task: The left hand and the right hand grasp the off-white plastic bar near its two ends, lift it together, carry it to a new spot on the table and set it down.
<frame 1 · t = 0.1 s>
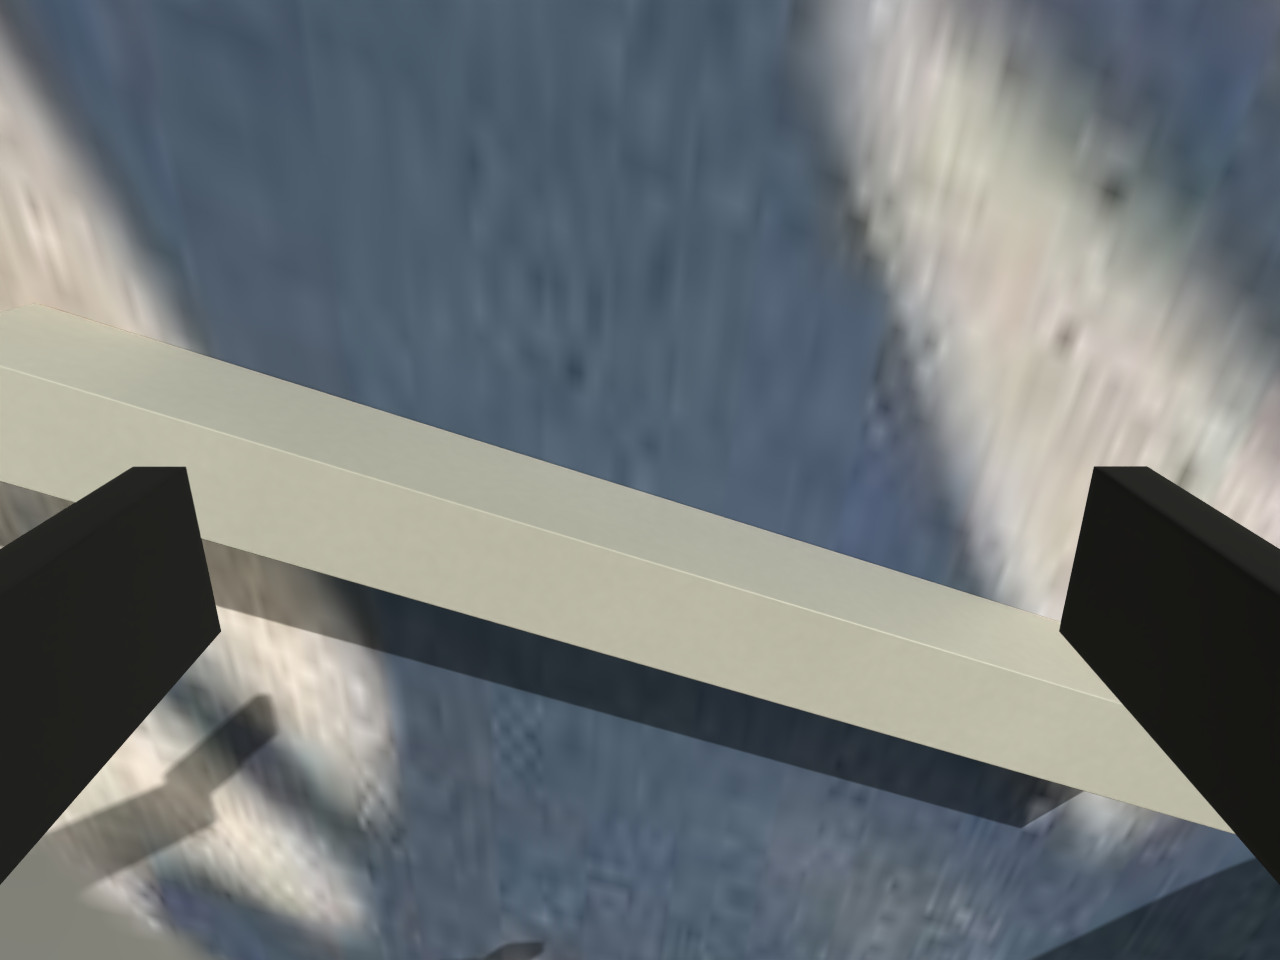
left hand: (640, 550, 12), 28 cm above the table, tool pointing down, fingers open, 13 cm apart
bar: (663, 545, 43), on the table
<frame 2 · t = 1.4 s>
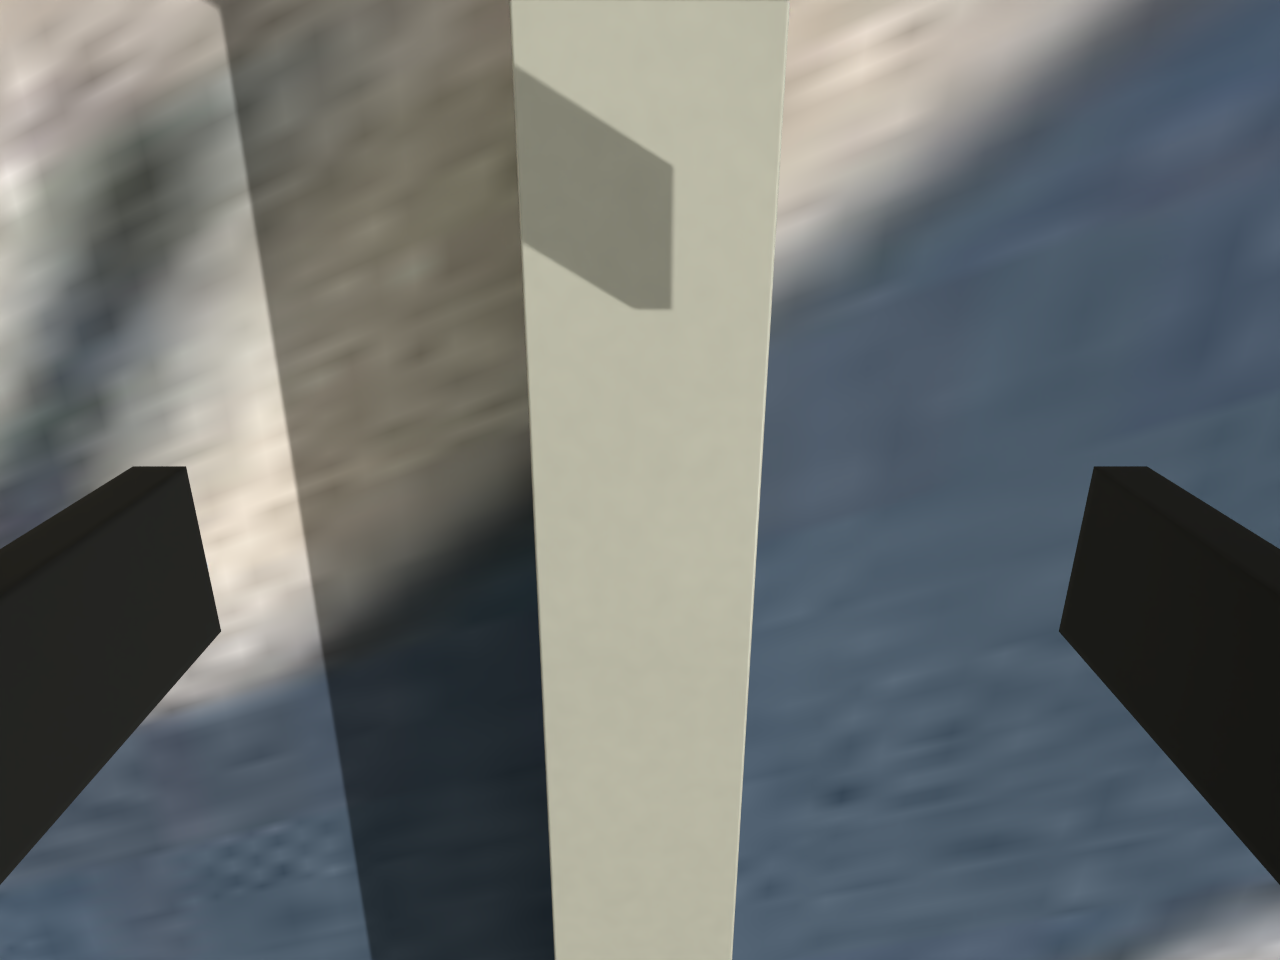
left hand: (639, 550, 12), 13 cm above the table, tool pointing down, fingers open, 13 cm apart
bar: (642, 934, 33), on the table
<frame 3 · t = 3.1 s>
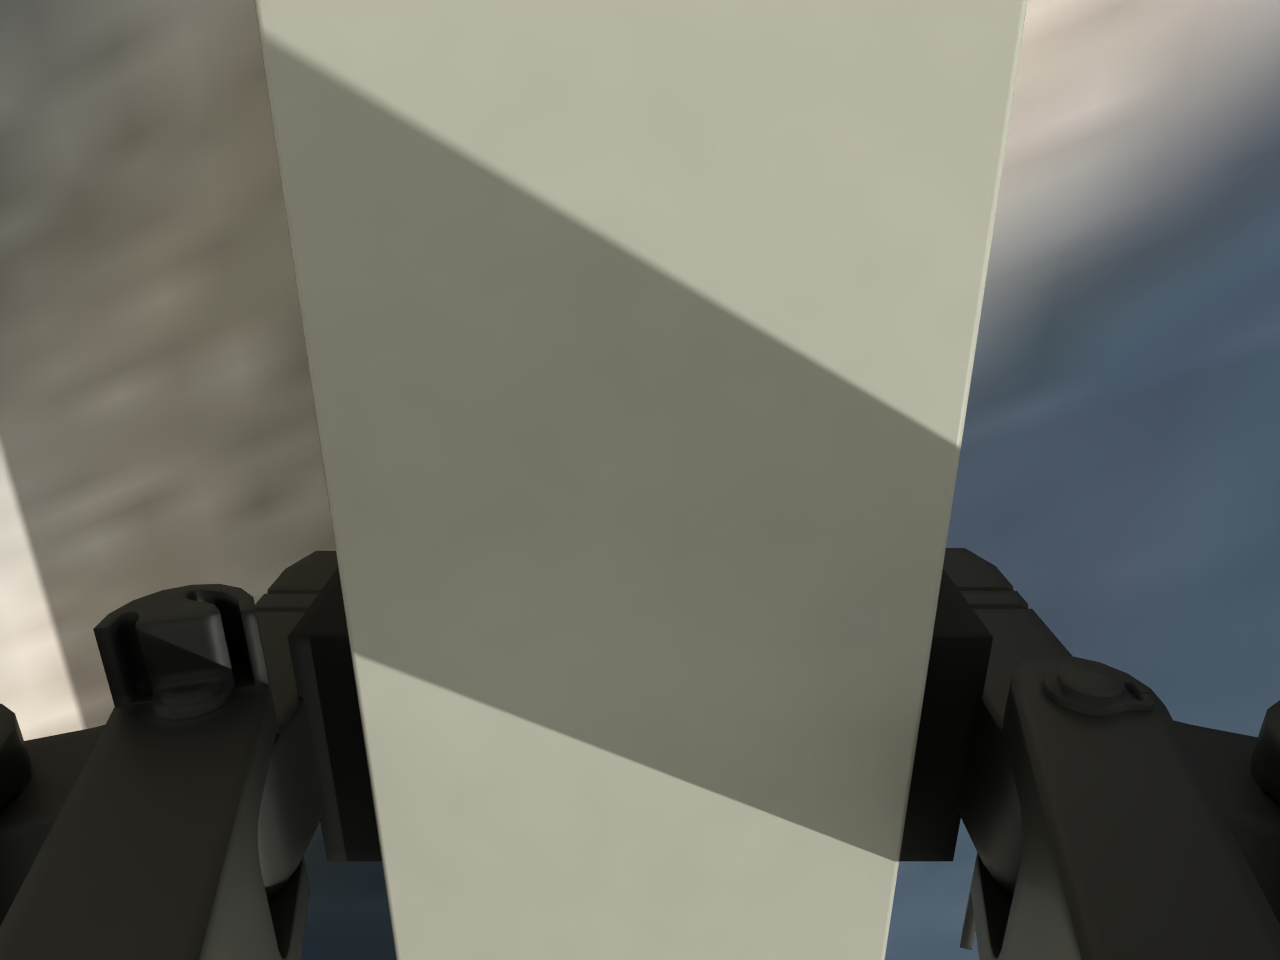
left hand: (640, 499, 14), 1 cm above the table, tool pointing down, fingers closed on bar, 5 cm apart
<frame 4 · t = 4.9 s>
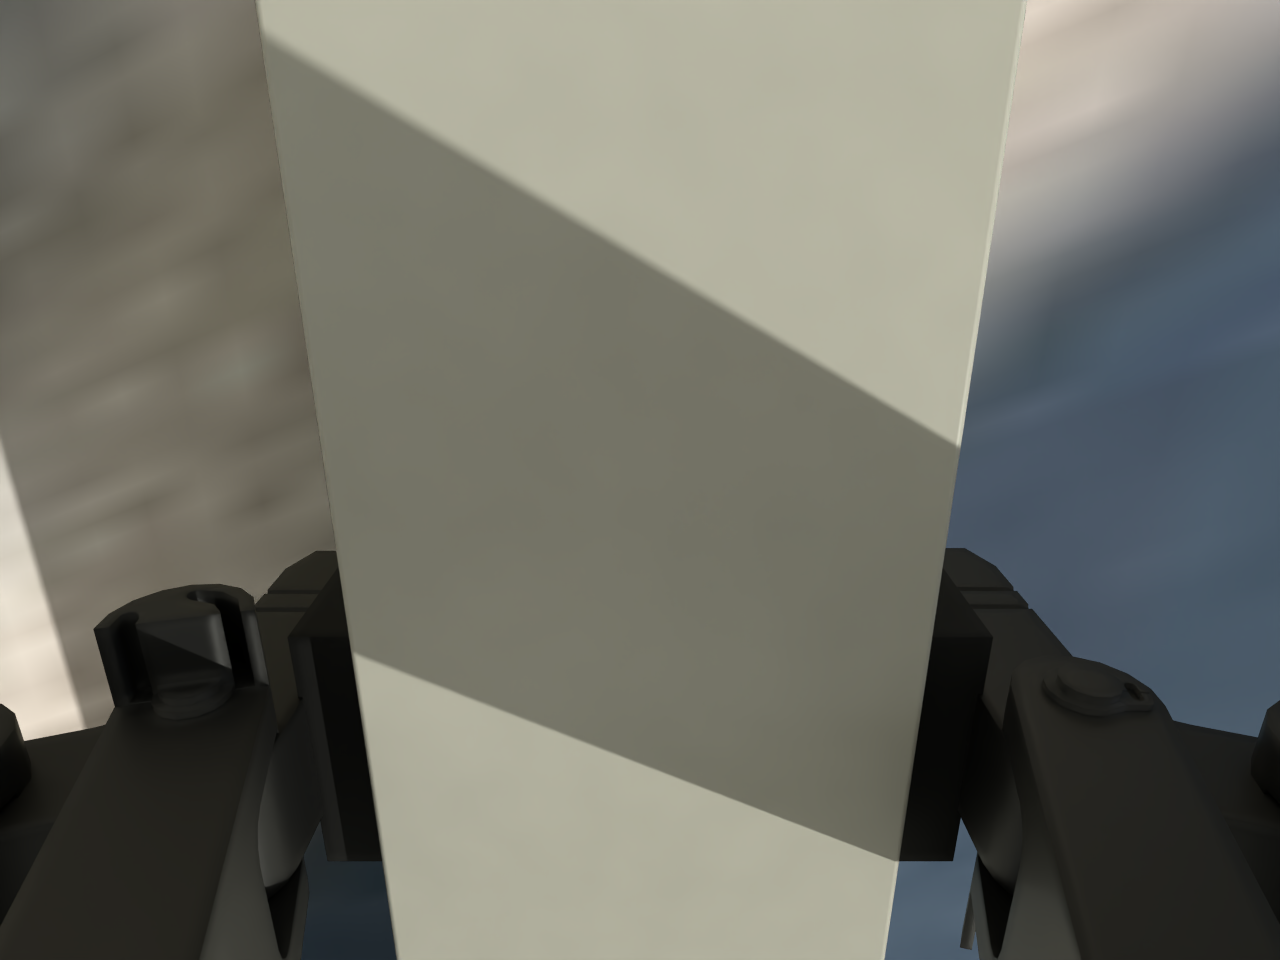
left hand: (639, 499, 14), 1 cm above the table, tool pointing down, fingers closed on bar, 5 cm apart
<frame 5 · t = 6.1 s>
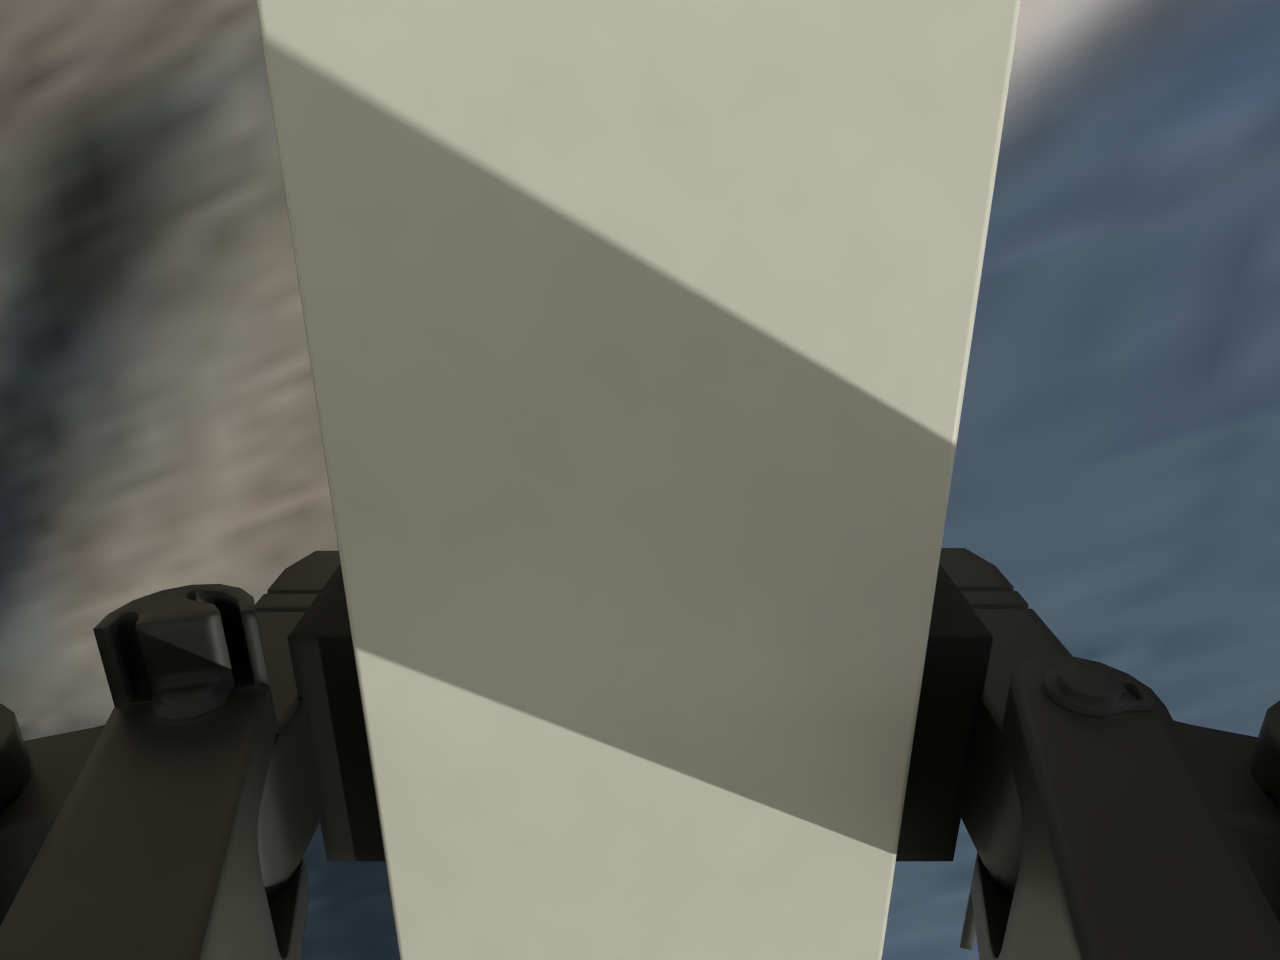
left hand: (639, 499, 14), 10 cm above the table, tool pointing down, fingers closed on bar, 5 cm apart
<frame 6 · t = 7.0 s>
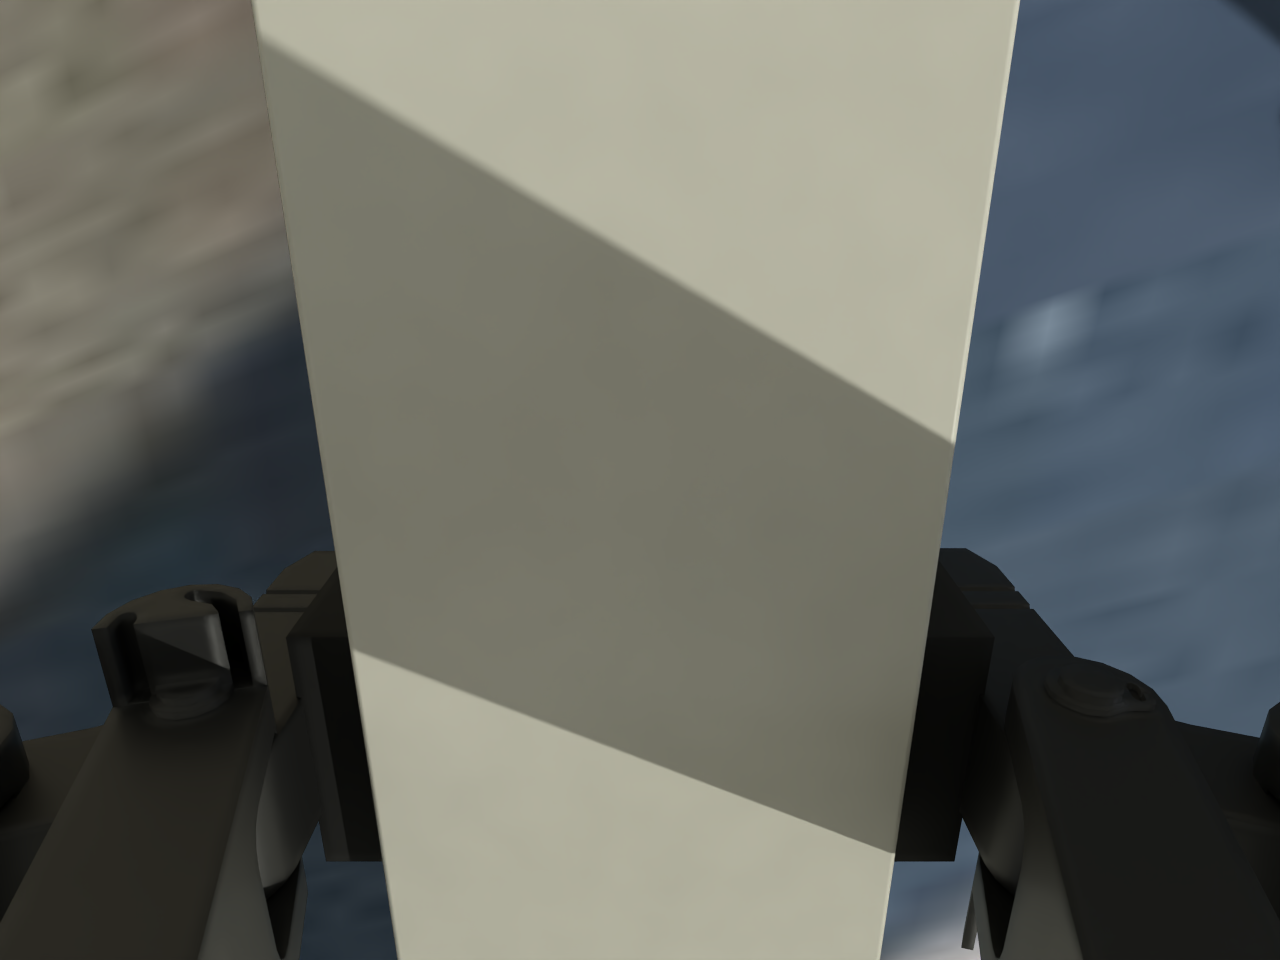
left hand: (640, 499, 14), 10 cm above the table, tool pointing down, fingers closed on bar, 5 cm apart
when the left hand's fingers open (2 cm above the table, at t = 9.1 s): bar stays where it is, on the table.
when the right hand's fingers open (4 cm above the table, at t = 9.3 s): bar stays where it is, on the table.
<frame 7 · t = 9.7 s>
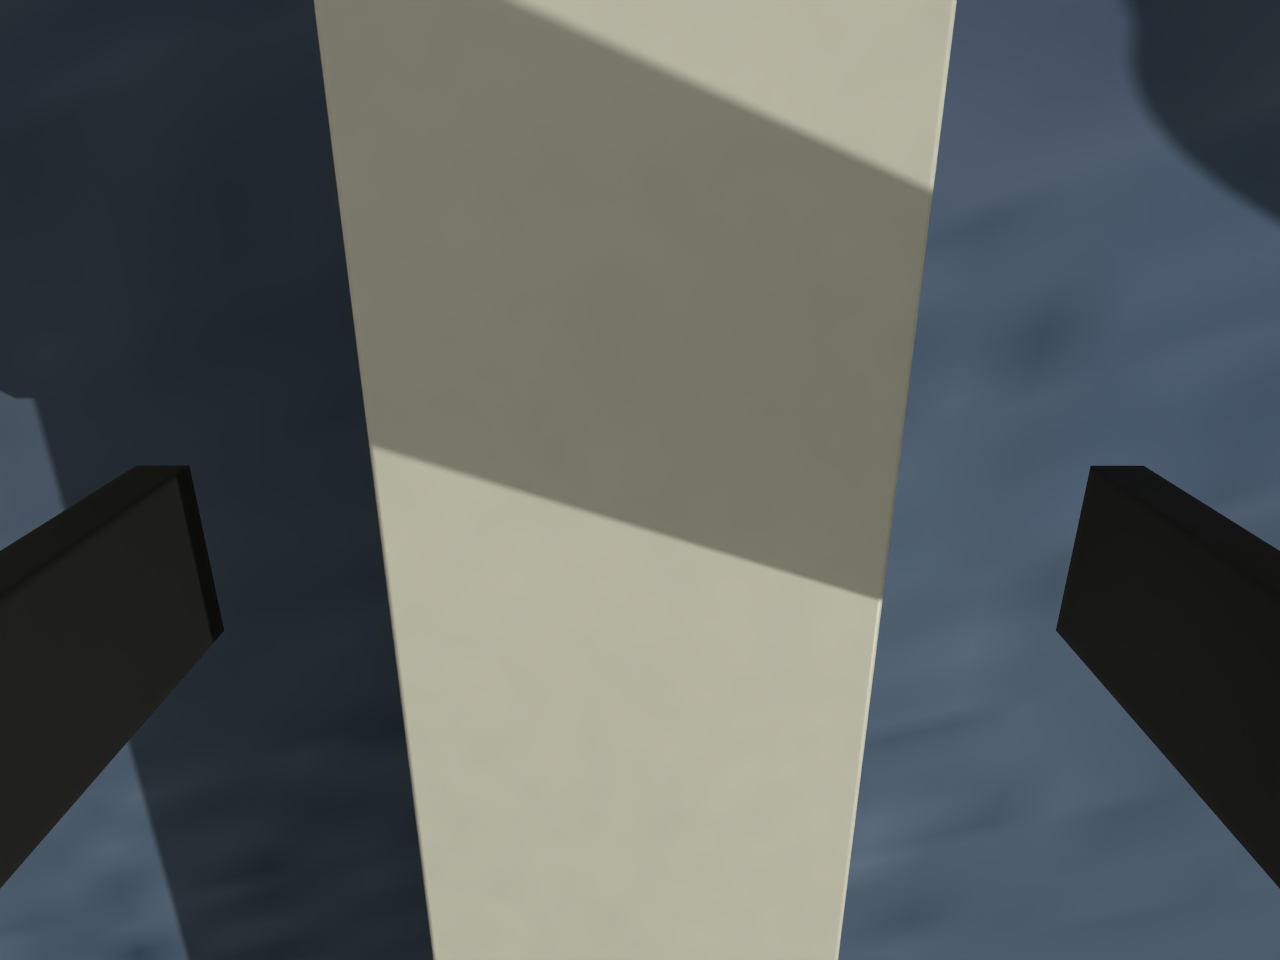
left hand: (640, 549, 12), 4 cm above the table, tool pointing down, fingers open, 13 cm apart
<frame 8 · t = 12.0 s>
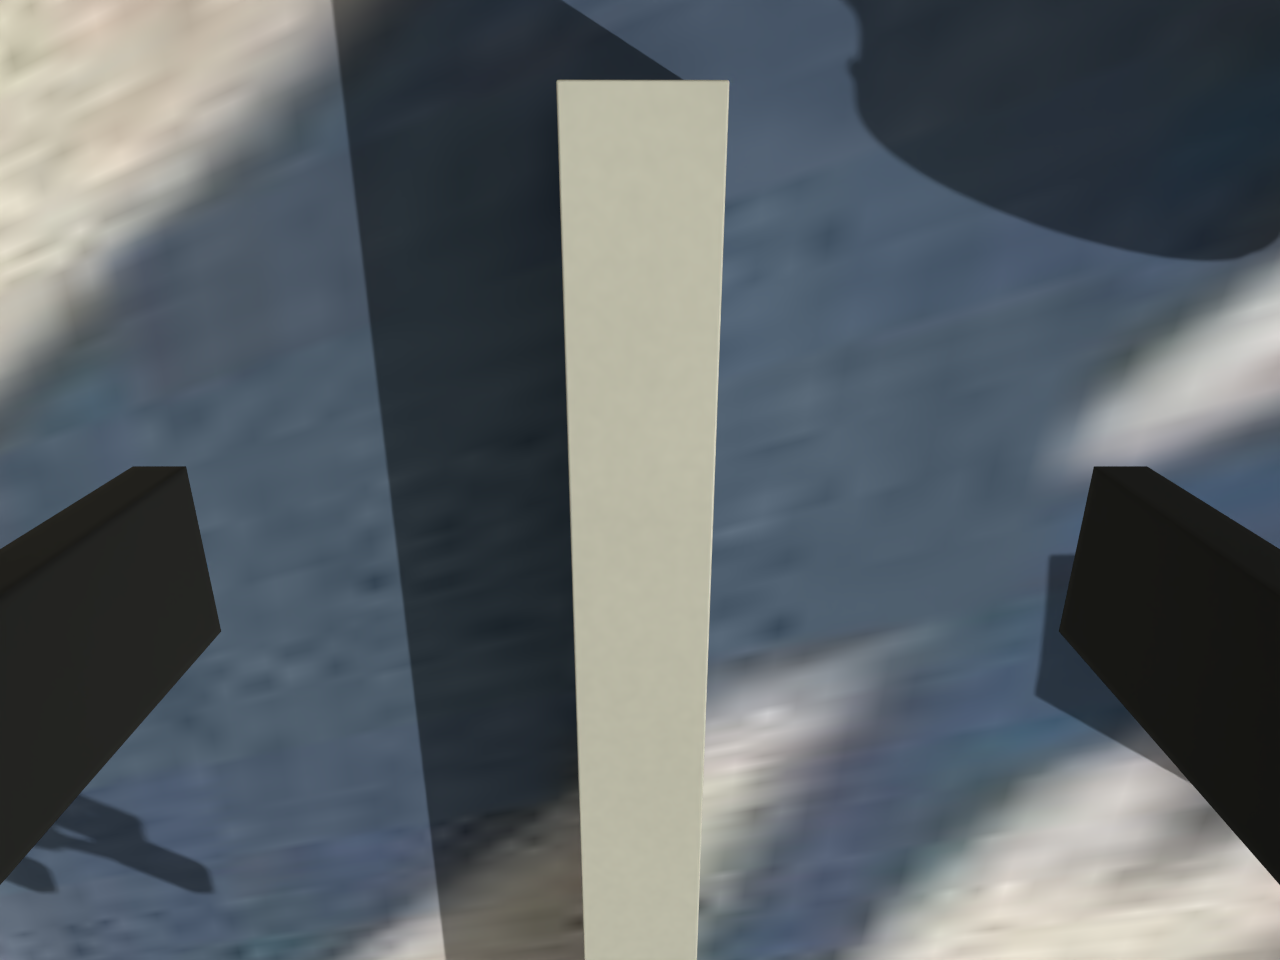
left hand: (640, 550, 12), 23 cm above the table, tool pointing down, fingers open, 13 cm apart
bar: (640, 776, 43), on the table
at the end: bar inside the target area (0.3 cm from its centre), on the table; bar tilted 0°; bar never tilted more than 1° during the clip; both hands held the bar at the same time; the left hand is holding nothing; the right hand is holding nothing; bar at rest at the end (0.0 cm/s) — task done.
